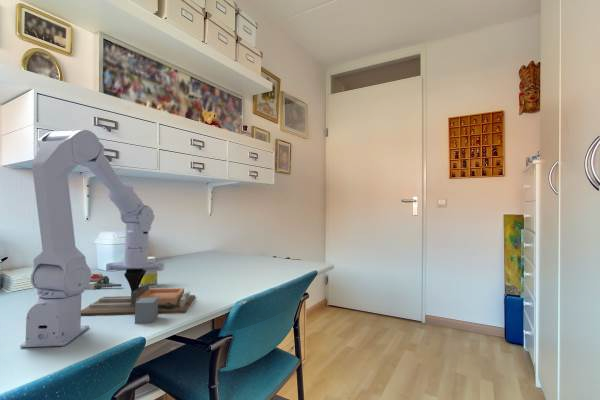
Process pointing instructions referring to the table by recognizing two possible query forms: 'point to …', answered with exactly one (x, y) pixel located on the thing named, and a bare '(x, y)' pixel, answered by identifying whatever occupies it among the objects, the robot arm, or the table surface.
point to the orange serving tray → (157, 295)
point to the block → (146, 310)
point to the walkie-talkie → (100, 281)
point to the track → (132, 306)
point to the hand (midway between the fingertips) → (134, 296)
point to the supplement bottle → (150, 275)
